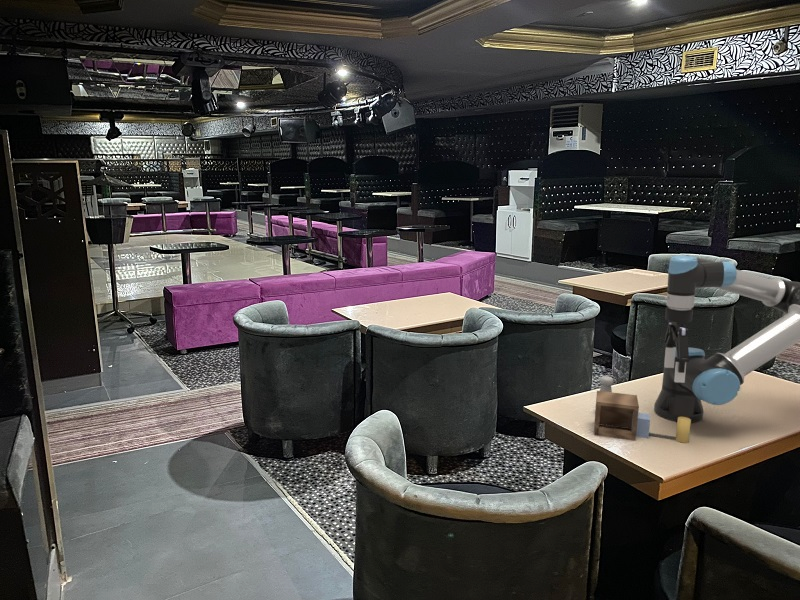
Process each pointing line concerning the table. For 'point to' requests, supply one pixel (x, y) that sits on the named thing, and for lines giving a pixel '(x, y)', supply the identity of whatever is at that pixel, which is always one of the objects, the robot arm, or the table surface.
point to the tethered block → (643, 431)
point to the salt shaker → (606, 383)
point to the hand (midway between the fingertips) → (674, 374)
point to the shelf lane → (616, 415)
